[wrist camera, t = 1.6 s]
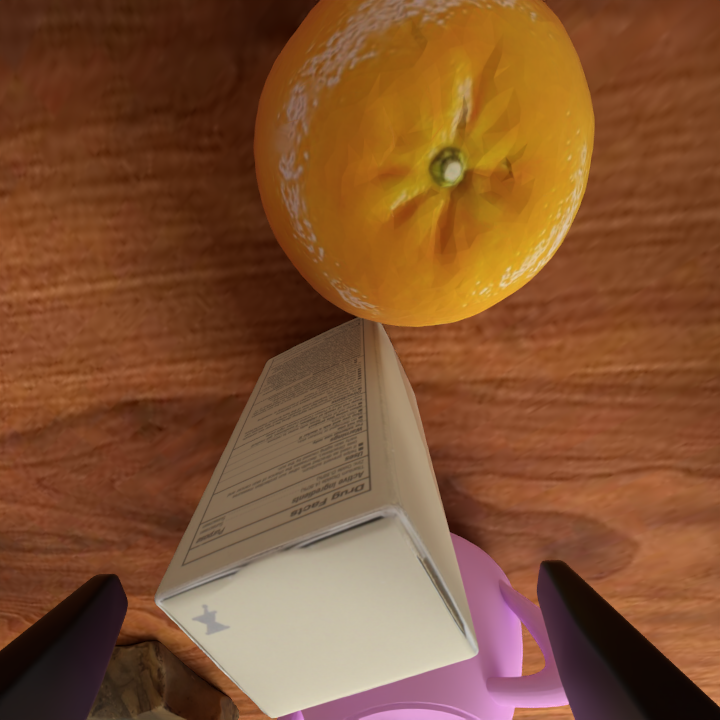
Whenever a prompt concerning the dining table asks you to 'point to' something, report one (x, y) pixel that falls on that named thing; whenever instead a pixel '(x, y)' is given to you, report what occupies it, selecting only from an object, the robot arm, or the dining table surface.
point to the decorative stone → (156, 689)
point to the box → (323, 534)
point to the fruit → (423, 152)
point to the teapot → (467, 662)
